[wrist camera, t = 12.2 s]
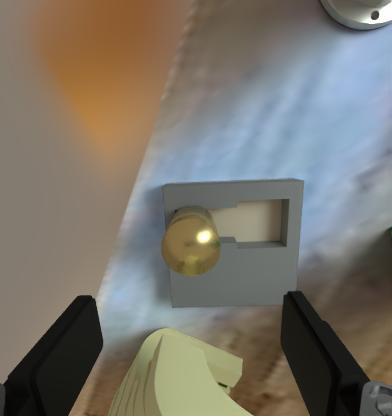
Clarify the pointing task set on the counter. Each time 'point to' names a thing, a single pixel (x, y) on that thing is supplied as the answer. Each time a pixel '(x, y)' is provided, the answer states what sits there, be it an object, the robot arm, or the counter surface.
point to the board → (242, 241)
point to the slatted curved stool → (178, 379)
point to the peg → (191, 241)
